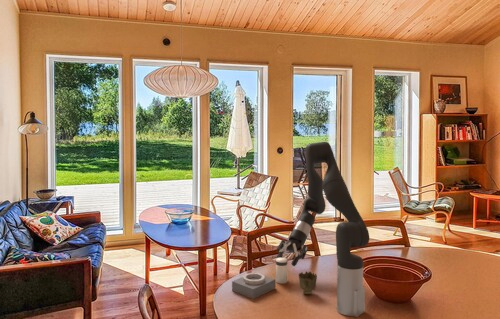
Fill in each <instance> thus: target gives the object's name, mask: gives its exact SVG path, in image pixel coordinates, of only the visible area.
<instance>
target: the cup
mask: <svg viewBox="0 0 500 319" xmlns="http://www.w3.org/2000/svg"><path fill="white" fill-rule="evenodd" d="M317 278H318V276H317V273H314V272H313V273H312V272H311V271H309V272H308V271H305V273H303V272H299V274H298V280H299V281H298V282H299V283H298V284H299V286H300V289H301V290H303V291H302V293H303V295H306V296H309V295H312V294H313V291H314V290H315V289H316V286H317V280H318V279H317Z"/></svg>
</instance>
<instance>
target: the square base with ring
mask: <svg viewBox="0 0 500 319" xmlns="http://www.w3.org/2000/svg"><path fill="white" fill-rule="evenodd" d="M275 289H276V278H273V277H269V276H267V275H264V274H262V273H259V272H248V273H245V274H244V275H243V276H242V277H239V278H237V279H234V280H232V281H231V290H232V292H234V293H237V294H240V295H242V296H245V297H247V298H249V299H252V300H255V299H257V298H258V297H260V296H263V295H266V294H267V293H268V292H271V291H273V290H275Z"/></svg>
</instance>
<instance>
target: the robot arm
mask: <svg viewBox="0 0 500 319" xmlns="http://www.w3.org/2000/svg"><path fill="white" fill-rule="evenodd" d="M331 146H332V145H330V143H329V142H328V141H320V142H312V143H308V144H306V146H305V164H306V172H307V181H308V182H307V184H308V185H307V197H306V198H305V199H304V202H303V208H302V212H301V215H300V217H299V218H298V220H297V222H296V223H295V225H294V227H293V229H292V231H291V233H290V234H289V237H288V240H287V241H286V240H285V239H281V241H280V242H279V244H278V246H277V248H276V251H277V252H278V254H276V257H275V260H276V259H277V258H283V256H284V255H285V254H287V253H293V254H295V256H294V257H293V259H292V261H291V264H290V265H291V266H292V267H296V266H297V264H298V262H299V260H304V259H305V257H306V254H307V252H308V250H309V248H308V247H307V245H306V244H305V243H306V240H307V239H308V238H309V235H310V233H311V230H312V228H313V225H314V223H315V221H316V217H315V216H314V215H313V214H316V215H322V214H323V213H325V210H326V207H327V206H326V201H325V198H326V200H327V201H328V203H329V204H330V205H331V206H332V207H333V208H334V209H336V210H337V211H338V212H340V214H342V215H343V216H344V218H345V219H346V220H347V221H346V222H339V223H338V224H337V226H336V228H335V244H336V259H337V261H336V262H337V263H336V264H337V271H336V274H337V275H336V276H337V278H336V311H337V312H338V313H339V314H341V315H344V316H347V317H355V318H358V317H359V316H361V315H362V314H363V313H365V310H366V303H365V302H366V286H365V285H364V258H363V257H361V256H360V255H357V254H354V253H351V248H361V247H362V248H363V247H366V246H367V245H369V243H370V233H369V230H368V227H367V224H366V222H365V221H364V219H363V217H362V216H361V214H360V213H359V211H358V209H357V206H356V204H355V203H354V201H353V198H352V196H351V193H350V190H349V188H348V186H347V184H346V181H345V179H344V177H343V175H342V174H341V172H340V169H339V166H338V164H337V162H336V161H337V160H336V158H335V154H334V151H333V149H332V147H331ZM324 163H325V164H326V165H327V169H326V172H325V174H324V177H323V179H322V177H321V175H320V174H319V173H318V171H317V170H316V169H315V165H317V164H324ZM324 196H325V197H324ZM311 212H312V213H313V214H311Z"/></svg>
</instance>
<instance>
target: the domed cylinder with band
mask: <svg viewBox="0 0 500 319" xmlns="http://www.w3.org/2000/svg"><path fill="white" fill-rule="evenodd" d="M275 283H277V284H281V285H282V284H283V285H285V284H287V283H288V258H286V257H282V258H277V259H276V258H275Z"/></svg>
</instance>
